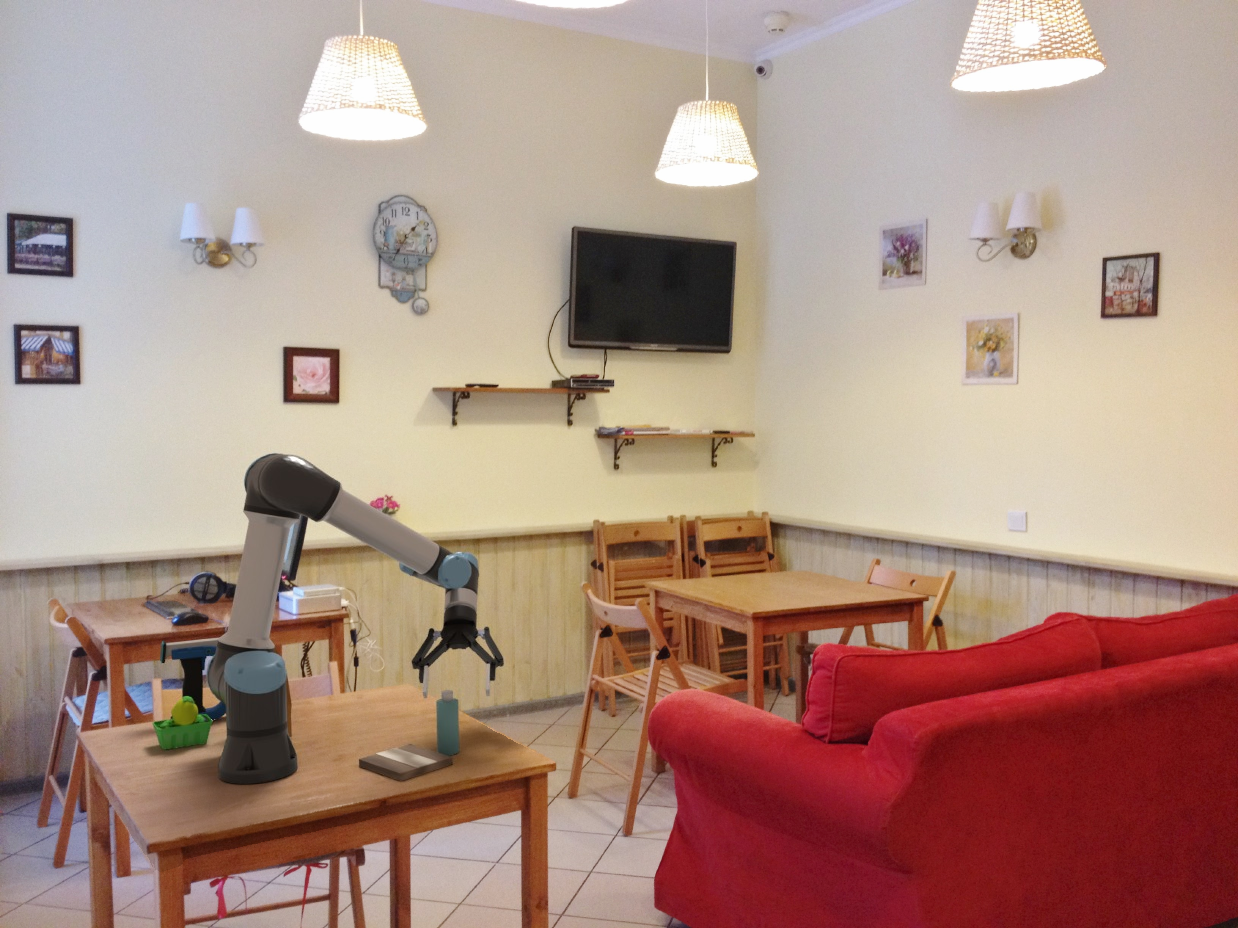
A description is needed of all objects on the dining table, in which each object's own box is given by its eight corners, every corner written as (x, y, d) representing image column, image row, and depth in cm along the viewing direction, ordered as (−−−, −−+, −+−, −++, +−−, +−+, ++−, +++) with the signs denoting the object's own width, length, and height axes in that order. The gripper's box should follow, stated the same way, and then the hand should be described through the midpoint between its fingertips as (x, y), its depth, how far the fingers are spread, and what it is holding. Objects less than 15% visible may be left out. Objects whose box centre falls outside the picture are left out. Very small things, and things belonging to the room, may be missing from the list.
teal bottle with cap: (446, 756, 221) (445, 695, 221) (432, 752, 224) (431, 691, 224) (463, 751, 224) (462, 691, 224) (449, 747, 228) (448, 687, 227)
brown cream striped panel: (400, 780, 207) (400, 772, 207) (359, 766, 216) (358, 758, 216) (452, 764, 216) (452, 756, 216) (410, 750, 226) (410, 743, 226)
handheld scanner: (162, 722, 250) (159, 640, 249) (234, 713, 257) (231, 634, 255) (162, 728, 246) (159, 644, 245) (235, 718, 253) (233, 637, 251)
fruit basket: (206, 735, 240) (205, 685, 239) (215, 745, 232) (213, 694, 232) (152, 744, 233) (150, 693, 233) (159, 754, 226) (158, 702, 225)
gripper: (515, 620, 248) (514, 700, 234) (407, 623, 246) (400, 704, 232) (514, 601, 242) (513, 682, 228) (404, 604, 241) (396, 686, 227)
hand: (456, 693), depth 230 cm, fingers open, 13 cm apart
